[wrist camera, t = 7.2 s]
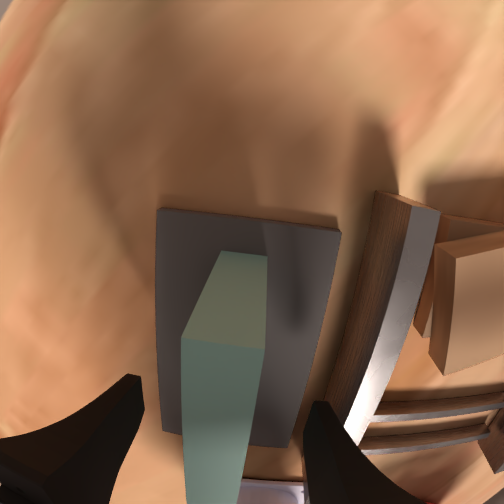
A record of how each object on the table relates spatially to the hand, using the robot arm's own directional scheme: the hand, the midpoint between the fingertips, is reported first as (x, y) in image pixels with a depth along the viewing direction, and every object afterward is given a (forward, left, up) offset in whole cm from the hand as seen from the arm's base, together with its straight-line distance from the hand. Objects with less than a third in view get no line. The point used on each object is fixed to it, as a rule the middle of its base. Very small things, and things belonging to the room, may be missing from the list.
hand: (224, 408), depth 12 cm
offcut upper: (+6, -14, -3) cm, 15 cm away
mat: (0, 0, -4) cm, 4 cm away
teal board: (0, 0, -4) cm, 4 cm away
